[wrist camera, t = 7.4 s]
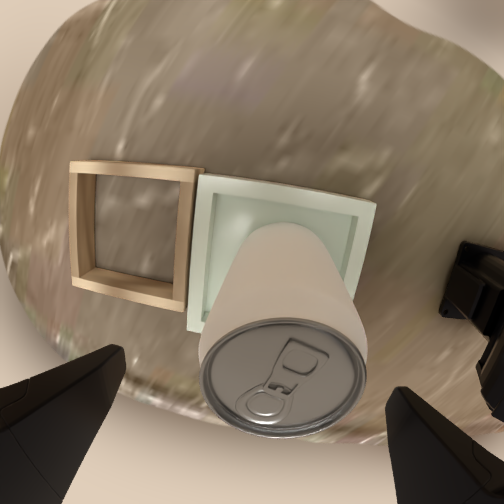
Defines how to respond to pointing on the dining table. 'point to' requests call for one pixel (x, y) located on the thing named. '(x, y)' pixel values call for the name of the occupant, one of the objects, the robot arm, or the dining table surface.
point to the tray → (260, 214)
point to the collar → (84, 240)
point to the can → (282, 338)
